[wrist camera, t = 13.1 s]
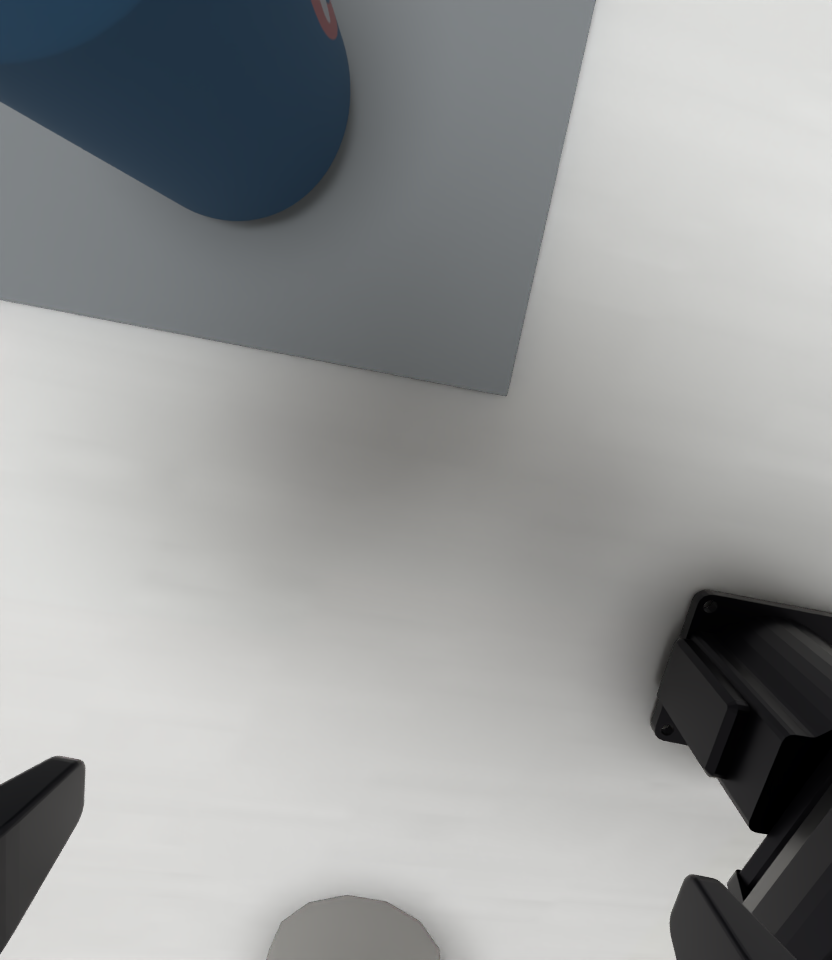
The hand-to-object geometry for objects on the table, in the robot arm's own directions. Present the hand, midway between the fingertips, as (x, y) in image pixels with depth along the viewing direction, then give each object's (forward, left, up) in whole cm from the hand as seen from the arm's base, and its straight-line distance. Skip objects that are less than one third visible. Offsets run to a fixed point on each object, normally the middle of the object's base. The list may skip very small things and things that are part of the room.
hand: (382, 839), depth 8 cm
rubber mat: (+8, -13, -13) cm, 20 cm away
